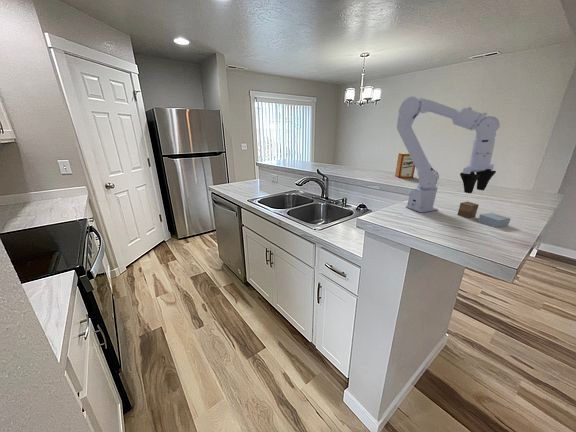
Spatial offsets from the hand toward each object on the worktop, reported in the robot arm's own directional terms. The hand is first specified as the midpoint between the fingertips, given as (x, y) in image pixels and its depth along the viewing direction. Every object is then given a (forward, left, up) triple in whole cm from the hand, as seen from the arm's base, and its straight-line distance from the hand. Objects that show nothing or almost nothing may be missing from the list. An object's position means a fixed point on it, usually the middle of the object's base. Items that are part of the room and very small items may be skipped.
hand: (474, 191), depth 87 cm
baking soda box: (+37, +67, -10) cm, 78 cm away
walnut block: (-1, 0, -10) cm, 10 cm away
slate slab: (0, -9, -10) cm, 13 cm away
